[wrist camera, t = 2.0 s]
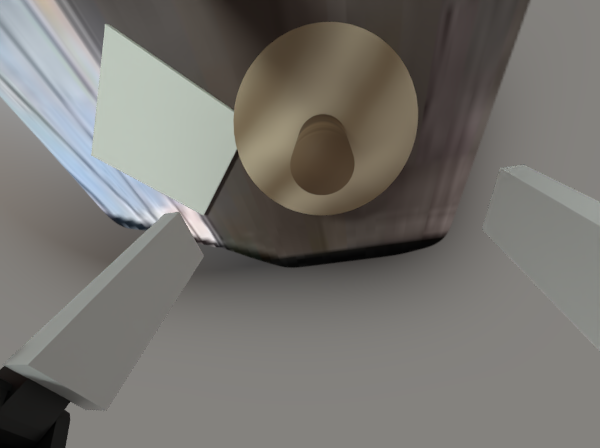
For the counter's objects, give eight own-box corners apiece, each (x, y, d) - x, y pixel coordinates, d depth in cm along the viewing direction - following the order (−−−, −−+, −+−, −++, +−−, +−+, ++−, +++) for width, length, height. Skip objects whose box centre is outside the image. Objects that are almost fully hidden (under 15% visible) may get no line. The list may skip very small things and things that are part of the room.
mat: (94, 154, 29) (91, 155, 29) (109, 24, 22) (105, 23, 21) (204, 213, 33) (203, 215, 33) (250, 122, 26) (249, 123, 25)
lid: (211, 156, 22) (172, 190, 16) (298, -39, 14) (281, -105, 9) (335, 232, 26) (338, 281, 20) (455, 112, 18) (516, 136, 12)
